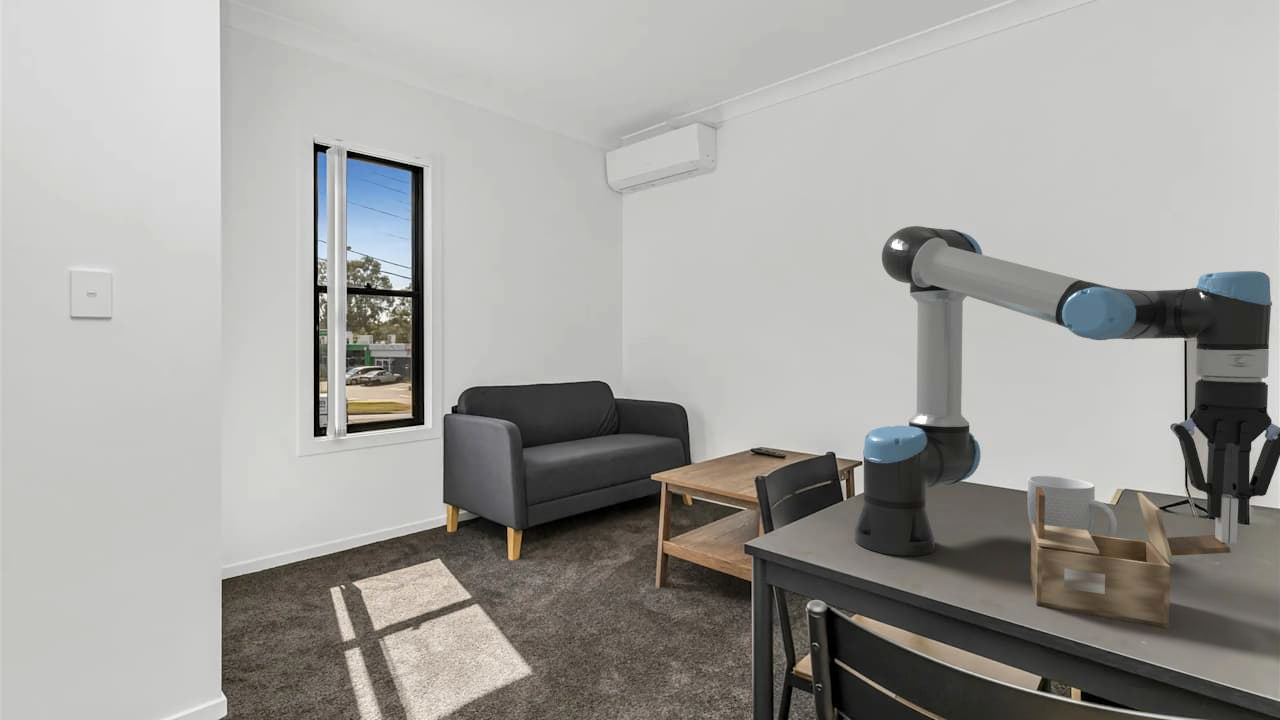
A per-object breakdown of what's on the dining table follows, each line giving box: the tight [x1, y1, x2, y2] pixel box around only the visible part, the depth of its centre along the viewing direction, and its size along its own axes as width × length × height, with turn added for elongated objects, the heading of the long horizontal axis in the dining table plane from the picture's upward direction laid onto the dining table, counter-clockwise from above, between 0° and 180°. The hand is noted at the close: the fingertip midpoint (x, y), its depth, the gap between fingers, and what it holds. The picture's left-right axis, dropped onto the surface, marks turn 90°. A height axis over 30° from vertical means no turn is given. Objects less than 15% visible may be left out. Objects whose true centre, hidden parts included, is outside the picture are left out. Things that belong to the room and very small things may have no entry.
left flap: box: [1032, 487, 1099, 554], centre depth 98 cm, size 8×11×8 cm
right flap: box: [1137, 492, 1232, 565], centre depth 91 cm, size 8×11×8 cm
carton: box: [1029, 527, 1171, 629], centre depth 96 cm, size 16×12×9 cm
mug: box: [1027, 475, 1118, 538], centre depth 120 cm, size 15×11×13 cm
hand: (1225, 540), depth 88 cm, fingers closed
